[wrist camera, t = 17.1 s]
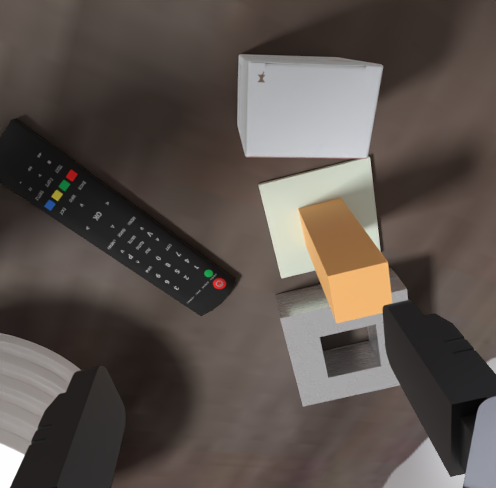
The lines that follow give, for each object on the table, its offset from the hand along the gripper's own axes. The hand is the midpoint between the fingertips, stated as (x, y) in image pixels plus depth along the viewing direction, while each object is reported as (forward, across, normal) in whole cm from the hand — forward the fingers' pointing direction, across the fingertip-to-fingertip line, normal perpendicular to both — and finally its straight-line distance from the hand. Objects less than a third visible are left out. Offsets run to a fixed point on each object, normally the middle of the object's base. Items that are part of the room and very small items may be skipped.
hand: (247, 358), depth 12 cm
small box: (+27, -6, -3) cm, 27 cm away
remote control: (+28, +11, +5) cm, 30 cm away
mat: (+26, -7, +9) cm, 29 cm away
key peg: (+26, -7, +9) cm, 28 cm away
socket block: (+26, -8, +22) cm, 35 cm away
